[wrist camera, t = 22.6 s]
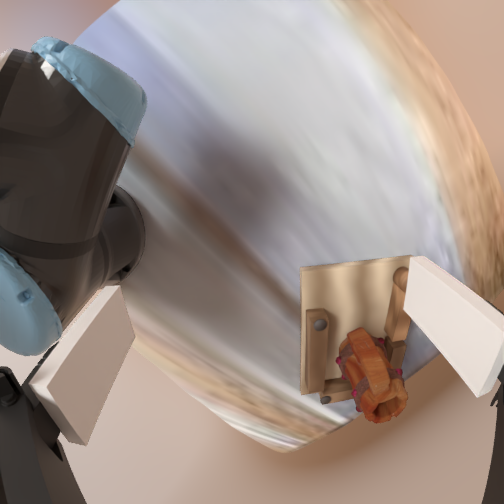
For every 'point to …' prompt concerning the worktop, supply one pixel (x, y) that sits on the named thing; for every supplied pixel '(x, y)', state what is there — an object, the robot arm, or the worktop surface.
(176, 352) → the worktop surface
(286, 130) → the worktop surface
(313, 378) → the seat
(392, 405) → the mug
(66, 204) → the robot arm
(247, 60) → the worktop surface
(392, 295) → the leg
